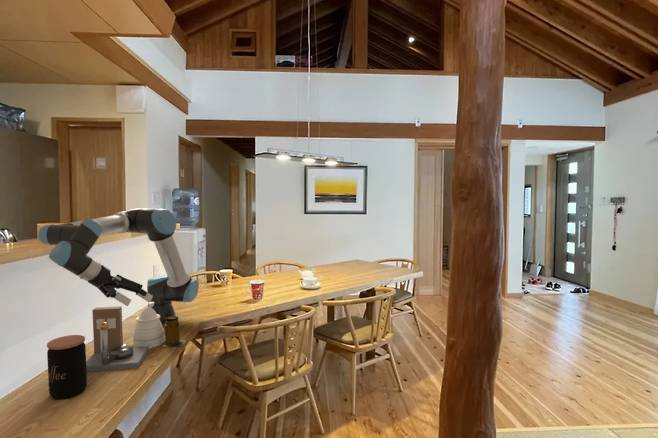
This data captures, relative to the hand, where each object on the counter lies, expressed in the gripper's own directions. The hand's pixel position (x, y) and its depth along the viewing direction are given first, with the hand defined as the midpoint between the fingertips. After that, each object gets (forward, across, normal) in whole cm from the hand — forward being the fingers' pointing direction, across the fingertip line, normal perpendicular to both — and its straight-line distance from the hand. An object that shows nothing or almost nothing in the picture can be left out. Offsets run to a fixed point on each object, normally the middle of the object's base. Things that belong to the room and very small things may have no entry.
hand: (140, 301), depth 154 cm
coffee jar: (-4, -6, -37) cm, 37 cm away
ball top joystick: (+9, -11, -19) cm, 24 cm away
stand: (+11, -14, -19) cm, 26 cm away
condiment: (+29, -8, -5) cm, 30 cm away
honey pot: (+24, -18, -6) cm, 30 cm away
